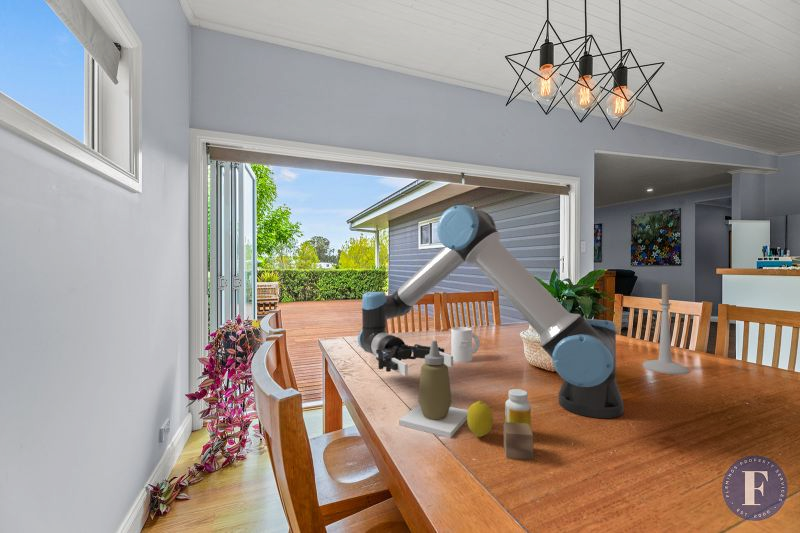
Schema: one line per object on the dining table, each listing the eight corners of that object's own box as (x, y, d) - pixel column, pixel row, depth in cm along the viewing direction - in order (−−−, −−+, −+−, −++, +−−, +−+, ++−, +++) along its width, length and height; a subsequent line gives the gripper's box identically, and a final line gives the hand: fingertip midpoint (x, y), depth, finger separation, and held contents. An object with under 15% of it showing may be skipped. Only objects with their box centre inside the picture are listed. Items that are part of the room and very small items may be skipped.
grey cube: (528, 447, 76) (528, 423, 76) (533, 460, 71) (532, 435, 71) (503, 445, 77) (503, 422, 77) (506, 458, 72) (506, 433, 72)
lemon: (493, 444, 77) (493, 406, 77) (466, 442, 78) (466, 404, 78) (492, 432, 82) (492, 397, 82) (467, 430, 84) (467, 395, 83)
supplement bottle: (500, 431, 83) (500, 389, 82) (519, 427, 85) (519, 386, 84) (515, 442, 78) (515, 397, 77) (536, 438, 79) (536, 394, 79)
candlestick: (636, 362, 135) (636, 281, 135) (674, 364, 133) (674, 281, 133) (655, 373, 123) (655, 284, 122) (697, 375, 121) (697, 284, 120)
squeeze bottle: (413, 419, 87) (412, 343, 86) (424, 406, 94) (423, 336, 94) (446, 424, 84) (446, 346, 83) (455, 411, 91) (454, 338, 91)
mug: (485, 360, 141) (485, 329, 140) (457, 363, 137) (457, 331, 136) (474, 355, 148) (474, 325, 148) (447, 358, 144) (447, 327, 144)
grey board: (470, 415, 91) (470, 410, 91) (450, 437, 80) (450, 432, 80) (423, 405, 98) (423, 401, 98) (398, 424, 86) (398, 419, 86)
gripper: (424, 354, 115) (469, 372, 96) (349, 367, 102) (385, 390, 84) (423, 330, 114) (469, 344, 96) (349, 340, 102) (384, 357, 84)
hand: (430, 365), depth 90 cm, fingers open, 13 cm apart
